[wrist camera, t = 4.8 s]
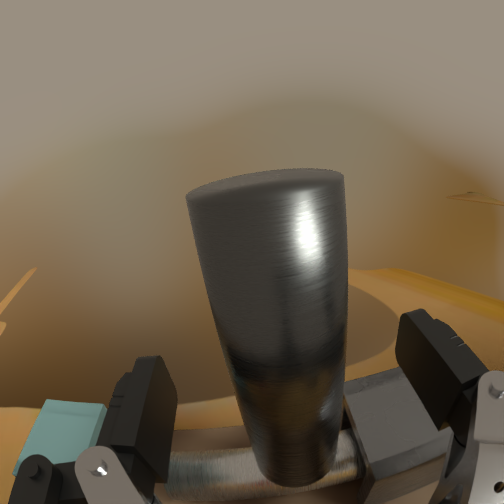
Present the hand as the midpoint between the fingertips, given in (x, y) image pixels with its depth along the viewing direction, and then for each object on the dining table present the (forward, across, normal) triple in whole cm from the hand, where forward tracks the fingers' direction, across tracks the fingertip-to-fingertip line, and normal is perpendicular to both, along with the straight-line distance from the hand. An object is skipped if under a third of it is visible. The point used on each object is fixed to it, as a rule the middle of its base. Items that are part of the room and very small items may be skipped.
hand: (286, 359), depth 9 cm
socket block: (0, +13, +11) cm, 17 cm away
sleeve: (0, -7, +11) cm, 13 cm away
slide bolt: (0, -3, +11) cm, 11 cm away
